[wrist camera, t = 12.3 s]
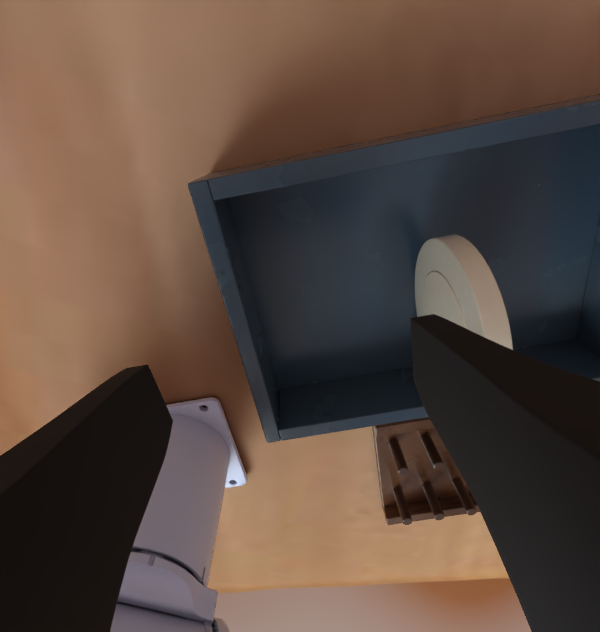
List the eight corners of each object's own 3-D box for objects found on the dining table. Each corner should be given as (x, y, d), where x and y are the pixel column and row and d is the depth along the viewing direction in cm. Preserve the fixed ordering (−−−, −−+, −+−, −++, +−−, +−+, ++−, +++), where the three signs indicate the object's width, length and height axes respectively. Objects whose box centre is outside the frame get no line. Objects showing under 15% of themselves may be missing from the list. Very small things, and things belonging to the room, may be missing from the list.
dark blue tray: (270, 395, 23) (266, 443, 19) (208, 173, 17) (186, 183, 13) (579, 342, 22) (637, 383, 18) (630, 87, 16) (731, 73, 12)
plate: (410, 328, 22) (467, 454, 16) (416, 205, 16) (506, 327, 10) (427, 325, 22) (490, 450, 16) (438, 201, 16) (541, 321, 10)
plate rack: (382, 506, 28) (392, 545, 26) (370, 410, 24) (381, 446, 21) (496, 489, 28) (519, 527, 25) (506, 388, 24) (535, 422, 21)
